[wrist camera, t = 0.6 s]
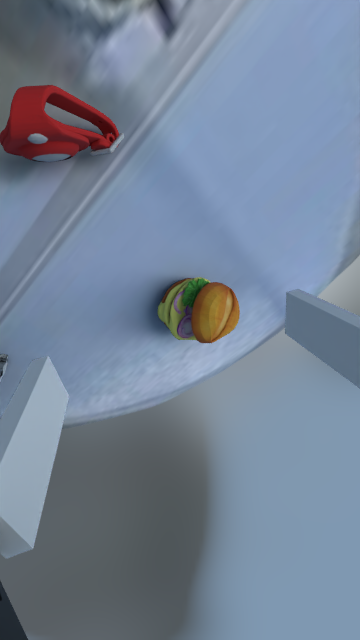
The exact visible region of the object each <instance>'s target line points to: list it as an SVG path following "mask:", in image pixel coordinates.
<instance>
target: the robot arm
mask: <svg viewBox="0 0 360 640" xmlns="http://www.w3.org/2000/svg"><path fill="white" fill-rule="evenodd" d="M285 334H287V335H288V336H289V337H291V338H292V339H293V340H295V341H296V342H297V343H299V344H300V345H301V346H303V347H304V348H306V349H307V350H308V351H310V352H311V353H312V354H314V355H315V356H316V357H318V358H319V359H320V360H322V361H323V362H325V363H326V364H327V365H329V366H330V367H331V368H333V369H334V370H335V371H337V372H338V373H340V374H341V375H342V376H343V377H345V378H346V379H348V380H349V381H350V382H352V383H353V384H354V385H356V386H357V387H358V388H360V316H358V315H356V314H354V313H351V312H349V311H347V310H345V309H342V308H340V307H338V306H336V305H333V304H331V303H329V302H327V301H324V300H322V299H320V298H317V297H315V296H313V295H311V294H309V293H306V292H304V291H302V290H300V289H296V290H293V291H289V292H287V293H286V319H285ZM68 400H69V395H68V393H67V391H66V389H65V387H64V385H63V383H62V381H61V379H60V378H59V376H58V374H57V372H56V370H55V368H54V366H53V364H52V362H51V360H50V358H49V356H45V357H42V358H38V359H34V360H32V361H31V363H30V365H29V367H28V369H27V370H26V372H25V374H24V376H23V378H22V380H21V382H20V383H19V385H18V387H17V389H16V391H15V393H14V394H13V396H12V398H11V400H10V402H9V404H8V406H7V407H6V409H5V411H4V413H3V415H2V417H1V419H0V554H1V555H2V556H4V557H5V558H6V559H7V558H9V557H12V556H15V555H18V554H20V553H22V552H26V551H28V550H31V549H33V547H34V542H35V538H36V534H37V530H38V526H39V522H40V517H41V513H42V509H43V505H44V501H45V496H46V492H47V488H48V484H49V480H50V475H51V471H52V467H53V463H54V458H55V454H56V450H57V446H58V442H59V438H60V433H61V429H62V425H63V421H64V417H65V413H66V408H67V404H68ZM0 640H28V638H27V636H26V634H25V632H24V630H23V628H22V626H21V624H20V622H19V620H18V617H17V615H16V613H15V611H14V609H13V607H12V605H11V603H10V600H9V598H8V596H7V594H6V592H5V590H4V588H3V586H2V583H1V581H0Z"/></svg>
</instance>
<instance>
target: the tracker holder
mask: <svg viewBox="0 0 360 640" xmlns="http://www.w3.org/2000/svg"><path fill="white" fill-rule="evenodd" d="M46 102H47V103H50V104H52V105H54V106H56V107H59V108H61V109H63V110H65V111H67V112H70V113H72V114H74V115H76V116H78V117H80V118H83V119H85V120H87V121H89V122H91V123H92V124H94V125H95V126H97V127H98V128H99V129H100V130H101V132H102V133H103V135H100V134H97V133H94V132H92V131H88V130H84V129H80V128H77V127H73V126H69V125H65V124H63V123H61V122H59V121H57V120H55V119H53V118H51V117H50V116H48V115H47V114H46V113H45V111H44V107H45V104H46ZM111 133H112V134H111ZM123 138H124V134H123V133H121V134H119V132H118V130H117V128H116V126H115V124H114V123H113V122H112V121H111V119H110V118H108V117H107V116H106V115H104V114H103V113H101V112H100V111H98V110H97V109H95V108H93V107H92V106H90V105H88V104H86V103H85V102H83V101H81V100H80V99H78V98H76V97H74V96H73V95H71V94H69V93H67V92H66V91H64V90H62V89H60V88H59V87H56V86H53V85H44V86H26V87H21V88H19V89H18V90H17V91H16V93H15V95H14V97H13V100H12V104H11V110H10V116H9V119H8V122H7V125H6V128H5V129H4V130H3V131H2V132H1V133H0V143H1V145H2V146H3V148H4V150H5V151H6V152H7V153H10V154H14V155H19V156H23V157H25V158H27V159H30V160H33V161H39V162H52V161H61V160H66V159H69V158H71V157H73V156H74V155H76V154H77V152H79V151H81V150H84V149H86V148H87V147H88V146H91V149H92V151H91V155H92V156H95V155H101V154H107V153H112V152H113V150H114V149H115V148H116V147H117V146H118V145H119V143H120V142H121V140H122V139H123Z"/></svg>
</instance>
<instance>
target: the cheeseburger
mask: <svg viewBox="0 0 360 640" xmlns="http://www.w3.org/2000/svg"><path fill="white" fill-rule="evenodd" d="M239 313H240V310H239V304H238V301H237V298H236V296H235V294H234V292H233V290H232V289H231V288H229V287H227V286H226V285H224V284H222V283H218V282H213V283H210V281H209V280H207V279H204V278H201V277H197V278H194V279H191V278H188V279H184V280H181V281H179V282H176V283H175V284H174V285H173V286H171V287H170V288H169V289H168V290H167V292H166V294H165V295H164V297H163V299H162V301H161V303H160V305H159V306H158V316H159V318H160V319H161V320H162V321H163V322H164V324H165V325H166V326H167V327H168V328H169V329H170V331H171V333H172V334H173V336H174V337H175V338H177V339H178V340H197V341H199V342H200V343H212V342H215V341H217V340H218V339H220V338H222V337H223V336H225V335H227V334H229V333H230V332H231V331H232V330H233V329H234V328H235V326H236V325H237V323H238V320H239Z"/></svg>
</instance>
